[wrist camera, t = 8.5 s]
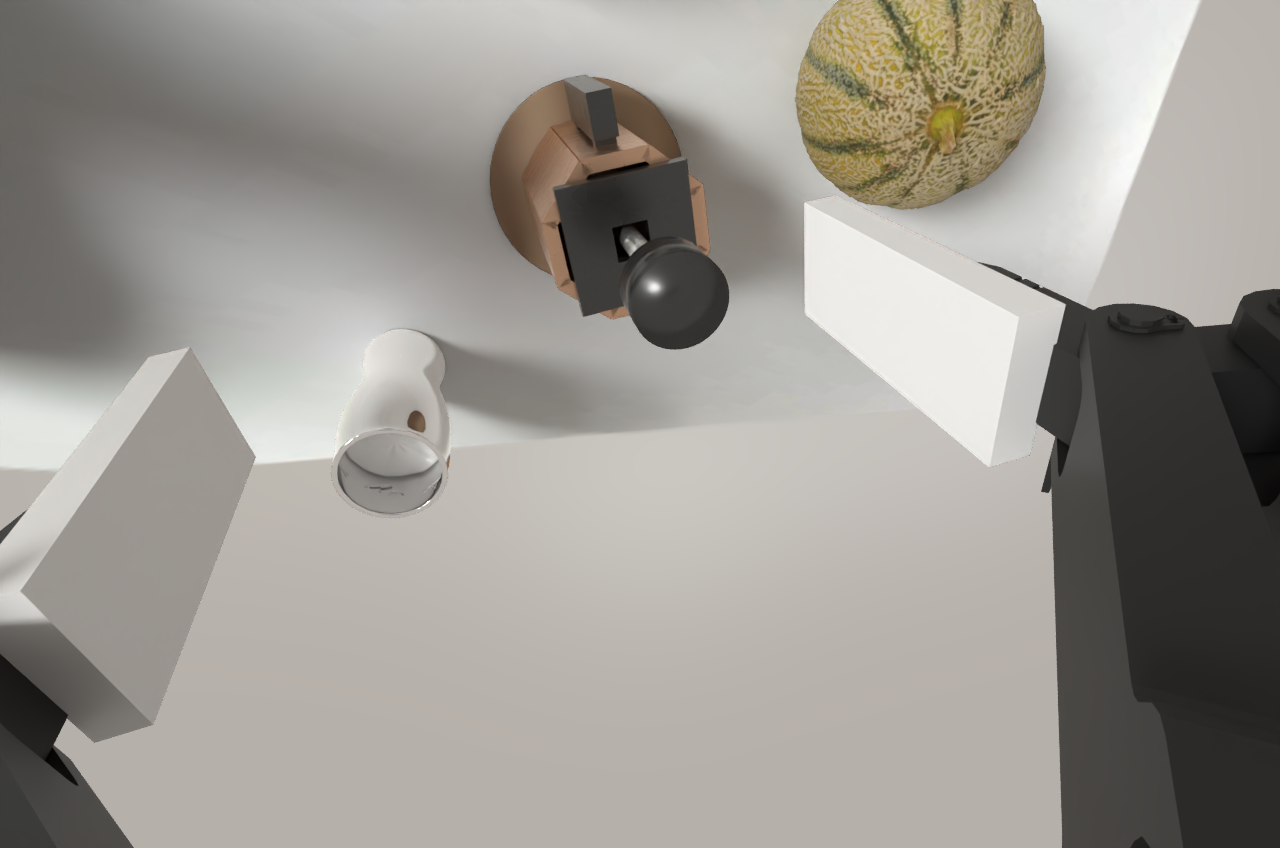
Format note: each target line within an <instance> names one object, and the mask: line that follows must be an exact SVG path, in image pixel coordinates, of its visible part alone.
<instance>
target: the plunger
mask: <svg viewBox="0 0 1280 848" xmlns="http://www.w3.org/2000/svg"><path fill="white" fill-rule="evenodd" d="M627 169H632V167H631V166H630V165H627V166H623V167H619V168H614V169H610V170H606V171H601V172H597V173H593V174H589V175H588V176H587V178H586V179H589V178H593V177H597V176H601V175H606V174H610V173H614V172H619V171H623V170H627ZM612 231H613V236H614V235H615V236H616V238H617V239H618V241H619V242H620V243H621V245H622V246H623V247H624V249H625V250H626V252H627V253H628V254H629V256H630V257H629V259H628V260H627V262H626V264H625V265H624V268H623V270H622V273H621V277H620V295H621V299H622V302H623V304H624V306H625V308H626V310H627V311H628V313H629V315H630V316H631V318H632V320H633V322H634V323H635V325H636V327H637V328H638V330H639V332H640V333H641V334H642V336H643V337H644V338H645V339H647V340H648V341H649V342H651V343H652V344H654V345H656V346H658V347H661V348H665V349H675V350H676V349H684V348H688V347H691V346H694V345H696V344H699V343H700V342H702V341H704V340H705V339H706V338H708V337H709V336H710V335H711V334H712V333H713V332H714V331H715V330H716V329H717V328H718V327H719V325H720V324H721V322H722V320H723V318H724V316H725V314H726V311H727V308H728V303H729V289H728V284H727V281H726V278H725V276H724V274H723V273H722V271H721V270H720V268H719V267H718V266H717V265H716V264H715V263H714V262H713V261H712V260H711V259H710V258H709V257H707V256H706V255H705V254H704V253H703V252H702V251H701V250H700V249H699V248H698V247H697V246H696V245H695V244H693V243H692V242H690V241H688V240H686V239H683V238H680V237H673V236H665V237H659V238H656V239H653V240H650V241H648V242H647V241H646V239H645V238H644V237H643V236H642V235H641V234H640V232H639V231H638V230H637V229H636V228H635V226H634V225H633V224H632V223H631V224H627V225H622V226H618V227H614V228H612Z"/></svg>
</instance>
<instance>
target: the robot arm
mask: <svg viewBox="0 0 1280 848" xmlns="http://www.w3.org/2000/svg"><path fill="white" fill-rule="evenodd" d="M804 254H805V315H806V316H808V317H809V318H810V319H811V320H812V321H814V322H815V323H816V324H817V325H818V326H820V327H821V328H822V329H823V330H824V331H826V332H827V333H828V334H829V335H830V336H832V337H833V338H834V339H835V340H836V341H838V342H839V343H840V344H841V345H842V346H844V347H845V348H846V349H847V350H848V351H850V352H851V353H852V354H853V355H854V356H856V357H857V358H858V359H859V360H860V361H862V362H863V363H864V364H865V365H866V366H868V367H869V368H870V369H871V370H872V371H874V372H875V373H876V374H877V375H878V376H880V377H881V378H882V379H883V380H884V381H886V382H887V383H888V384H889V385H890V386H892V387H893V388H894V389H895V390H897V391H898V392H899V393H900V394H901V395H903V396H904V397H905V398H906V399H907V400H909V401H910V402H911V403H912V404H913V405H915V406H916V407H917V408H918V409H919V410H921V411H922V412H923V413H924V414H925V415H927V416H928V417H929V418H930V419H931V420H933V421H934V422H935V423H936V424H937V425H939V426H940V427H941V428H942V429H943V430H945V431H946V432H947V433H948V434H949V435H951V436H952V437H953V438H954V439H955V440H957V441H958V442H959V443H960V444H961V445H963V446H964V447H965V448H966V449H968V450H969V451H970V452H971V453H972V454H973V455H975V456H976V457H977V458H978V459H979V460H981V461H982V462H983V463H984V464H985V465H987V466H988V467H989V468H990V467H994V466H997V465H1000V464H1003V463H1007V462H1010V461H1013V460H1017V459H1020V458H1023V457H1026V456H1030V453H1031V449H1032V444H1033V440H1034V436H1035V432H1036V427H1037V424H1038V425H1039V426H1041V427H1043V428H1044V429H1045V430H1047V431H1048V432H1050V433H1051V434H1053V435H1054V436H1055V441H1054V444H1053V448H1052V452H1051V456H1050V460H1049V464H1048V467H1047V471H1046V475H1045V479H1044V483H1043V487H1042V491H1041V492H1046V493H1049V491H1050V489H1052V521H1053V550H1054V551H1053V553H1054V585H1055V614H1056V615H1055V616H1056V649H1057V681H1058V712H1059V743H1060V774H1061V808H1062V848H1280V289H1271V290H1263V291H1256V292H1253V293H1251V294H1248V295H1245V296H1243V298H1242V300H1241V301H1240V303H1239V306H1238V309H1237V311H1236V313H1235V316H1234V318H1233V321H1232V324H1227V325H1215V326H1202V327H1194V326H1193V325H1192V323H1191V322H1190V321H1189V320H1188V319H1187V318H1186V317H1184V316H1182V315H1179V314H1177V313H1176V312H1173V311H1171V310H1167V309H1163V308H1160V307H1156V306H1150V305H1141V304H1112V305H1108V306H1103V307H1098V308H1097V309H1095V310H1091V309H1089V308H1087V307H1085V306H1083V305H1081V304H1079V303H1076V302H1074V301H1072V300H1070V299H1068V298H1066V297H1064V296H1061V295H1059V294H1057V293H1055V292H1053V291H1051V290H1048V289H1046V288H1044V287H1043V288H1040V287H1039V285H1038V284H1036V283H1033V282H1031V281H1029V280H1027V279H1024V280H1022V277H1020V276H1018V275H1016V274H1014V273H1012V272H1010V271H1008V270H1005V269H1003V268H1001V267H997V266H993V265H988V264H984V263H979V262H976V261H973V260H971V259H969V258H967V257H965V256H963V255H961V254H959V253H957V252H954V251H952V250H950V249H948V248H946V247H944V246H942V245H940V244H938V243H936V242H933V241H931V240H929V239H927V238H925V237H923V236H921V235H919V234H917V233H915V232H912V231H910V230H908V229H906V228H904V227H902V226H900V225H898V224H896V223H893V222H891V221H889V220H887V219H885V218H883V217H881V216H879V215H877V214H875V213H872V212H870V211H868V210H866V209H864V208H862V207H860V206H858V205H856V204H854V203H851V202H849V201H847V200H845V199H843V198H841V197H839V196H837V195H833V196H829V197H825V198H821V199H816V200H812V201H808V202H804ZM255 458H256V457H255V455H254V453H253V452H252V450H251V448H250V447H249V445H248V443H247V442H246V440H245V438H244V437H243V435H242V433H241V432H240V430H239V428H238V427H237V425H236V423H235V422H234V420H233V418H232V417H231V415H230V413H229V412H228V410H227V408H226V407H225V405H224V403H223V402H222V400H221V398H220V397H219V395H218V393H217V392H216V390H215V388H214V387H213V385H212V383H211V382H210V380H209V378H208V377H207V375H206V373H205V372H204V370H203V368H202V367H201V365H200V363H199V362H198V360H197V358H196V356H195V355H194V353H193V351H192V350H191V348H190V347H188V348H184V349H180V350H176V351H171V352H167V353H163V354H159V355H154V356H150V357H148V359H147V360H146V361H145V362H144V364H143V365H142V366H141V367H140V369H139V370H138V371H137V372H136V374H135V375H134V376H133V377H132V379H131V380H130V381H129V382H128V384H127V385H126V386H125V388H124V389H123V390H122V391H121V393H120V394H119V395H118V396H117V398H116V399H115V400H114V401H113V403H112V404H111V405H110V406H109V408H108V409H107V410H106V412H105V413H104V414H103V415H102V417H101V418H100V419H99V420H98V422H97V423H96V424H95V425H94V427H93V428H92V429H91V430H90V432H89V433H88V434H87V436H86V437H85V438H84V439H83V441H82V442H81V443H80V444H79V446H78V447H77V448H76V449H75V451H74V452H73V453H72V454H71V456H70V457H69V458H68V459H67V461H66V462H65V463H64V465H63V466H62V467H61V468H60V470H59V471H58V472H57V473H56V475H55V476H54V477H53V478H52V480H51V481H50V482H49V484H48V485H47V486H46V487H45V489H44V490H43V491H42V492H41V494H40V495H39V496H38V497H37V499H36V500H35V501H34V502H33V504H32V505H31V506H30V507H29V509H27V510H26V511H25V512H24V513H22V514H21V515H20V516H19V517H17V518H16V519H15V520H13V521H12V522H11V523H10V524H9V525H7V526H6V527H5V528H3V529H2V530H1V531H0V848H133V846H132V845H131V844H130V842H129V840H128V839H127V838H126V836H125V835H124V834H123V832H122V831H121V829H120V828H119V827H118V825H117V824H116V822H115V821H114V819H113V818H112V817H111V815H110V814H109V813H108V811H107V810H106V808H105V807H104V806H103V804H102V803H101V801H100V800H99V799H98V797H97V796H96V794H95V793H94V792H93V790H92V789H91V788H90V786H89V785H88V783H87V782H86V781H85V779H84V778H83V776H82V775H81V773H80V772H79V771H78V769H77V768H76V767H75V765H74V764H73V762H72V761H71V760H70V759H69V758H68V757H67V756H66V755H65V754H63V753H62V752H61V751H60V750H59V749H57V748H56V747H55V746H54V742H55V741H56V738H57V737H58V735H59V733H60V731H61V729H62V727H63V725H64V723H65V721H66V719H69V720H70V721H71V722H72V723H73V724H74V725H75V726H76V727H78V728H79V729H80V730H81V731H82V732H83V733H84V734H85V735H86V736H87V737H89V738H90V739H91V740H92V741H93V742H94V743H95V742H99V741H101V740H105V739H108V738H112V737H115V736H118V735H121V734H124V733H128V732H131V731H134V730H137V729H141V728H144V727H147V726H151V725H153V724H154V721H155V719H156V716H157V714H158V711H159V708H160V706H161V703H162V701H163V698H164V695H165V693H166V690H167V687H168V685H169V682H170V679H171V677H172V675H173V672H174V669H175V667H176V664H177V661H178V659H179V656H180V654H181V651H182V648H183V646H184V643H185V641H186V638H187V635H188V633H189V630H190V627H191V625H192V622H193V620H194V617H195V614H196V612H197V609H198V606H199V604H200V601H201V599H202V596H203V594H204V591H205V588H206V586H207V583H208V580H209V578H210V575H211V572H212V570H213V567H214V565H215V562H216V560H217V557H218V554H219V552H220V549H221V547H222V544H223V541H224V539H225V536H226V533H227V531H228V528H229V526H230V523H231V520H232V518H233V515H234V512H235V510H236V507H237V505H238V502H239V499H240V497H241V494H242V491H243V489H244V486H245V484H246V481H247V479H248V476H249V473H250V471H251V468H252V466H253V463H254V460H255Z"/></svg>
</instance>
